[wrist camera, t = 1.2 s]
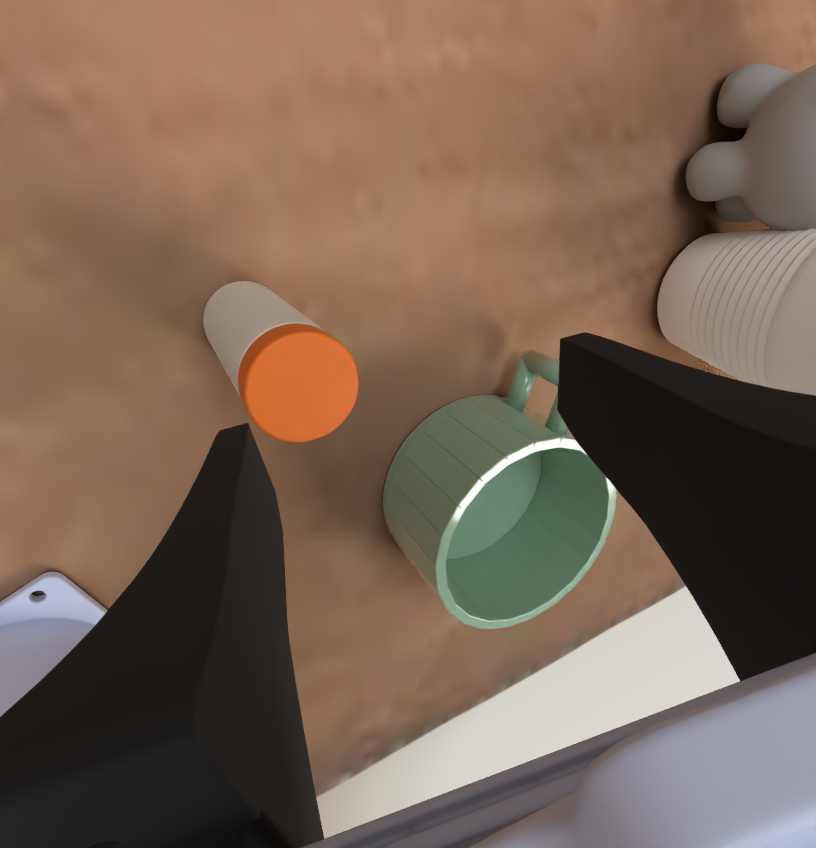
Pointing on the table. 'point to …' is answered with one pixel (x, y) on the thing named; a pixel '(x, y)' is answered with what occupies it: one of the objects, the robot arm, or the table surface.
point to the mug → (498, 503)
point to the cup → (746, 305)
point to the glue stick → (280, 362)
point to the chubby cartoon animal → (762, 150)
